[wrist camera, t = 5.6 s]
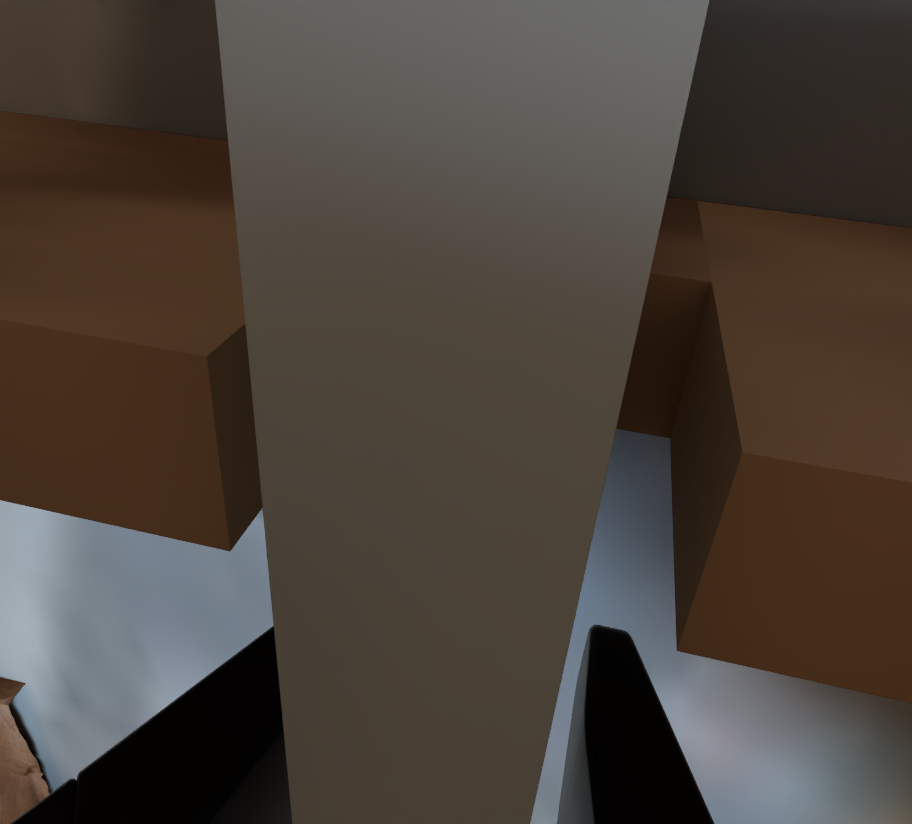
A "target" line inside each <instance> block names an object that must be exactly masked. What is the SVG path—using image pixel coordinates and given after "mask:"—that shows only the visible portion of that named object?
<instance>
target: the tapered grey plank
mask: <svg viewBox="0 0 912 824" xmlns="http://www.w3.org/2000/svg"><path fill="white" fill-rule="evenodd" d="M708 5H709V0H215V6H216V17H217V27H218V38H219V48H220V59H221V70H222V80H223V91H224V102H225V112H226V123H227V134H228V144H229V155H230V165H231V176H232V187H233V197H234V208H235V219H236V229H237V240H238V250H239V261H240V272H241V282H242V293H243V304H244V314H245V325H246V336H247V346H248V357H249V367H250V378H251V389H252V399H253V410H254V421H255V431H256V442H257V452H258V463H259V474H260V484H261V495H262V506H263V516H264V527H265V537H266V548H267V559H268V569H269V580H270V591H271V601H272V612H273V623H274V633H275V644H276V654H277V665H278V676H279V686H280V697H281V708H282V718H283V729H284V739H285V750H286V761H287V771H288V782H289V793H290V803H291V814H292V824H530V821H531V816H532V812H533V807H534V803H535V798H536V794H537V789H538V784H539V780H540V775H541V771H542V766H543V761H544V757H545V752H546V748H547V743H548V738H549V734H550V729H551V725H552V720H553V716H554V711H555V706H556V702H557V697H558V693H559V688H560V683H561V679H562V674H563V670H564V665H565V661H566V656H567V651H568V647H569V642H570V638H571V633H572V628H573V624H574V619H575V615H576V610H577V605H578V601H579V596H580V592H581V587H582V583H583V578H584V573H585V569H586V564H587V560H588V555H589V550H590V546H591V541H592V537H593V532H594V527H595V523H596V518H597V514H598V509H599V505H600V500H601V495H602V491H603V486H604V482H605V477H606V472H607V468H608V463H609V459H610V454H611V449H612V445H613V440H614V436H615V431H616V427H617V422H618V417H619V413H620V408H621V404H622V399H623V394H624V390H625V385H626V381H627V376H628V372H629V367H630V362H631V358H632V353H633V349H634V344H635V339H636V335H637V330H638V326H639V321H640V316H641V312H642V307H643V303H644V298H645V294H646V289H647V284H648V280H649V275H650V271H651V266H652V261H653V257H654V252H655V248H656V243H657V238H658V234H659V229H660V225H661V220H662V216H663V211H664V206H665V202H666V197H667V193H668V188H669V183H670V179H671V174H672V170H673V165H674V160H675V156H676V151H677V147H678V142H679V138H680V133H681V128H682V124H683V119H684V115H685V110H686V105H687V101H688V96H689V92H690V87H691V83H692V78H693V73H694V69H695V64H696V60H697V55H698V50H699V46H700V41H701V37H702V32H703V27H704V23H705V18H706V14H707V9H708Z"/></svg>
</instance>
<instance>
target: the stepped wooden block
mask: <svg viewBox="0 0 912 824" xmlns="http://www.w3.org/2000/svg"><path fill="white" fill-rule="evenodd" d="M616 429H622V430H627V431H633V432H638V433H644V434H650V435H655V436H661V437H666V438H670V446H671V478H672V510H673V542H674V574H675V606H676V638H677V651H680V652H684V653H689V654H693V655H698V656H702V657H707V658H711V659H716V660H720V661H725V662H729V663H734V664H738V665H743V666H747V667H752V668H756V669H761V670H765V671H770V672H774V673H779V674H783V675H788V676H792V677H797V678H801V679H806V680H810V681H814V682H819V683H823V684H828V685H832V686H837V687H841V688H846V689H850V690H855V691H859V692H864V693H868V694H873V695H877V696H882V697H886V698H891V699H895V700H900V701H904V702H909V703H912V228H906V227H898V226H890V225H882V224H875V223H867V222H859V221H851V220H843V219H836V218H828V217H820V216H812V215H804V214H797V213H789V212H781V211H773V210H765V209H758V208H750V207H742V206H734V205H726V204H718V203H711V202H703V201H695V200H687V199H679V198H672V197H666V202H665V206H664V211H663V216H662V220H661V225H660V229H659V234H658V238H657V243H656V248H655V252H654V257H653V261H652V266H651V271H650V275H649V280H648V284H647V289H646V294H645V298H644V303H643V307H642V312H641V316H640V321H639V326H638V330H637V335H636V339H635V344H634V349H633V353H632V358H631V362H630V367H629V372H628V376H627V381H626V385H625V390H624V394H623V399H622V404H621V408H620V413H619V417H618V422H617V427H616ZM0 500H2V501H7V502H11V503H16V504H20V505H25V506H29V507H34V508H38V509H43V510H47V511H52V512H56V513H61V514H65V515H70V516H74V517H79V518H83V519H88V520H92V521H97V522H101V523H106V524H110V525H115V526H119V527H124V528H128V529H133V530H137V531H142V532H146V533H151V534H155V535H159V536H164V537H168V538H173V539H177V540H182V541H186V542H191V543H195V544H200V545H204V546H209V547H213V548H218V549H222V550H227V551H231V550H232V548H233V547H234V545H235V544H236V543H237V541H238V540H239V539H240V537H241V536H242V535H243V533H244V532H245V530H246V529H247V528H248V526H249V525H250V524H251V522H252V521H253V520H254V518H255V517H256V516H257V514H258V513H259V511H260V510H261V509H262V507H263V506H262V495H261V484H260V474H259V463H258V452H257V442H256V431H255V421H254V410H253V399H252V389H251V378H250V367H249V357H248V346H247V336H246V325H245V314H244V304H243V293H242V282H241V272H240V261H239V250H238V240H237V229H236V219H235V208H234V197H233V187H232V176H231V165H230V155H229V144H228V141H227V140H219V139H211V138H203V137H195V136H188V135H180V134H172V133H164V132H156V131H149V130H141V129H133V128H125V127H117V126H109V125H102V124H94V123H86V122H78V121H70V120H63V119H55V118H47V117H39V116H31V115H24V114H16V113H8V112H0Z"/></svg>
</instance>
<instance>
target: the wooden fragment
mask: <svg viewBox="0 0 912 824" xmlns="http://www.w3.org/2000/svg"><path fill="white" fill-rule="evenodd" d="M25 684H26V683H22V682H17V681H12V680H7V679H3V678H0V824H10V823H11V822H13V821H14V820H15V819H17V818H18V817H20V816H21V815H22V814H24V813H25V812H27V811H28V810H29V809H31V808H32V807H33V806H35V805H36V804H37V803H39V802H40V801H41V800H43V799H44V798H45V797H47V796H48V795H49V794H50V793H49V792H48V789H49V788H48V786H47V784H46V782H45V781H44V780H43V779H42V778H41V776H42V775H43V773H41V771H40V767H39V764H38V762H37V759H36V758H35V757H34V756H33V754H32V753H31V751H30V750H29V748H28V745H27V742H26V741H25V739H24V738H23V737H22V735H21V734H20V733H19V729H18V728H17V726H16V723H15V720H14V718H13V717H12V715H11V713H10V709H9V705H10V703H11V702H12V700H13V699H14V697H15V696H16V695H17V693H18V692H19V691H20V689H21V688H22V687H23V686H24V685H25Z"/></svg>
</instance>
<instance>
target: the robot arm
mask: <svg viewBox="0 0 912 824" xmlns="http://www.w3.org/2000/svg"><path fill="white" fill-rule="evenodd" d="M10 824H292V814H291V803H290V793H289V782H288V771H287V761H286V750H285V739H284V729H283V718H282V708H281V697H280V686H279V676H278V665H277V654H276V644H275V633H274V626H273V627H271V628H270V629H269V630H267V631H266V632H265V633H263V634H262V635H261V636H259V637H258V638H257V639H255V640H254V641H253V642H252V643H250V644H249V645H248V646H246V647H245V648H244V649H242V650H241V651H240V652H238V653H237V654H236V655H234V656H233V657H232V658H230V659H229V660H228V661H226V662H225V663H224V664H222V665H221V666H220V667H218V668H217V669H216V670H214V671H213V672H212V673H210V674H209V675H208V676H206V677H205V678H204V679H202V680H201V681H200V682H198V683H197V684H196V685H194V686H193V687H192V688H190V689H189V690H188V691H187V692H185V693H184V694H183V695H181V696H180V697H179V698H177V699H176V700H175V701H173V702H172V703H171V704H169V705H168V706H167V707H165V708H164V709H163V710H161V711H160V712H159V713H157V714H156V715H155V716H153V717H152V718H151V719H149V720H148V721H147V722H145V723H144V724H143V725H141V726H140V727H139V728H137V729H136V730H135V731H133V732H132V733H131V734H129V735H128V736H127V737H125V738H124V739H123V740H122V741H120V742H119V743H118V744H116V745H115V746H114V747H112V748H111V749H110V750H108V751H107V752H106V753H104V754H103V755H102V756H100V757H99V758H98V759H96V760H95V761H94V762H92V763H91V764H90V765H88V766H87V767H86V768H84V769H83V770H82V771H80V772H79V774H78V776H77V780H76V779H69V780H68V781H67V782H65V783H64V784H63V785H61V786H60V787H59V788H57V789H56V790H55V791H53V792H52V793H51V794H49V795H48V796H47V797H45V798H44V799H43V800H41V801H40V802H39V803H37V804H36V805H35V806H33V807H32V808H31V809H29V810H28V811H27V812H25V813H24V814H22V815H21V816H20V817H18V818H17V819H15V820H14V821H13V822H11V823H10ZM557 824H714V822H713V820H712V817H711V815H710V813H709V811H708V808H707V806H706V804H705V802H704V799H703V797H702V795H701V793H700V790H699V788H698V786H697V784H696V781H695V779H694V777H693V775H692V772H691V770H690V768H689V766H688V763H687V761H686V759H685V757H684V754H683V752H682V750H681V748H680V745H679V743H678V741H677V739H676V736H675V734H674V732H673V730H672V727H671V725H670V723H669V721H668V718H667V716H666V714H665V712H664V709H663V707H662V705H661V703H660V700H659V698H658V696H657V693H656V691H655V689H654V687H653V684H652V682H651V680H650V678H649V675H648V673H647V671H646V669H645V666H644V664H643V662H642V660H641V657H640V655H639V653H638V651H637V648H636V646H635V644H634V642H633V640H632V638H631V636H630V635H629V634H628V633H627V632H626V631H623V630H619V629H614V628H610V627H605V626H601V625H594V626H592V627H591V628H590V630H589V633H588V636H587V640H586V645H585V649H584V653H583V657H582V662H581V666H580V670H579V674H578V679H577V685H576V691H575V697H574V705H573V712H572V719H571V726H570V733H569V740H568V747H567V754H566V761H565V768H564V776H563V783H562V790H561V797H560V804H559V812H558V821H557Z"/></svg>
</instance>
